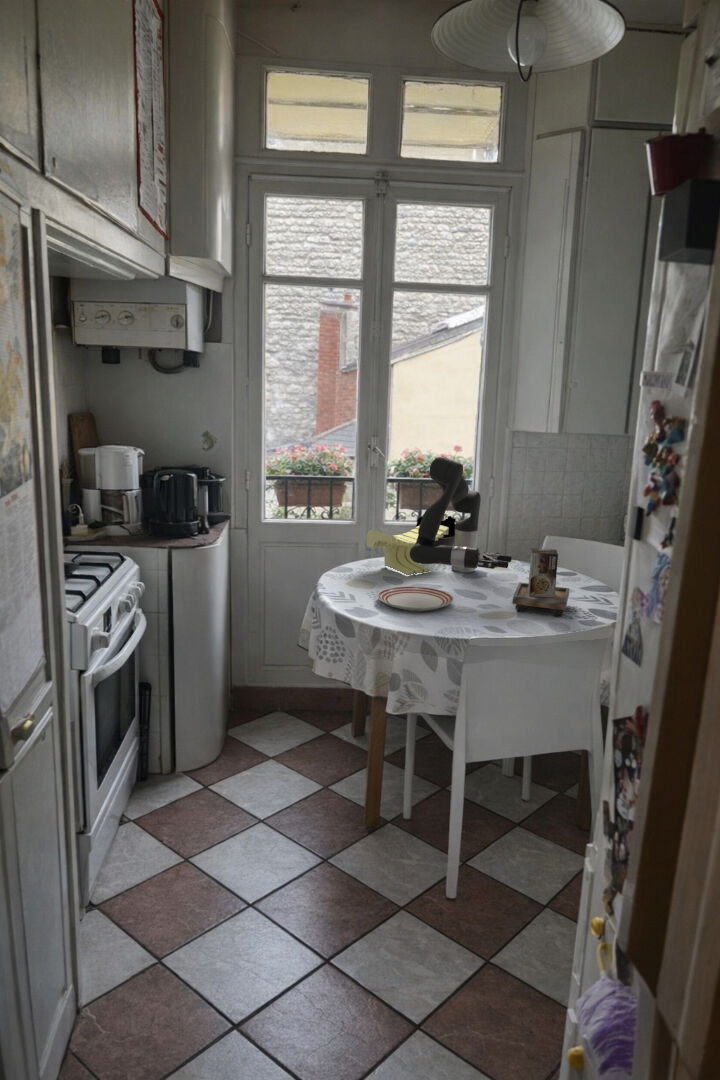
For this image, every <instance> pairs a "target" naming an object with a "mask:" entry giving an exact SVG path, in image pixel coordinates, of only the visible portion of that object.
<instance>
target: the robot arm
mask: <svg viewBox="0 0 720 1080" xmlns="http://www.w3.org/2000/svg"><path fill="white" fill-rule="evenodd" d="M463 475H464V465H463V464H462V463H460V462H459V461H455V460H453V459H450V458H448V457H445V456H437V457H435V458H434V459H433V460H432V462H431V463H430V466H429V477H430V479H431V480H432V481H434V482H435V483H437V484H438V486H439V487H440V489H441V490H442V491H443V494H442V495H441V496H440V497H439V498H438V499H437V500H435V501H434V503H432V504H431V505H430V506H429V507H427V508H426V510H425V511H424V513H423V515H422V516H421V517H422V520H421V523H420V526H419V530H418V533H419V535H418V538H417V541H416V544H415V545H414V546H413V547H412V548H411V550H410V558H411V559H412V560H413V561H414V562H416V563H418V564H420V565H433V564H434V565H435V564H436V565H437V564H440V565H446V566H451V569H452V570H451V569H450V570H451V571H455V570H456V571H455V572H458V571H460V572H459V573H474V572H475V570H476V569H477V568H485V569H490V570H491V569H492V570H493V569H497V568H503V569H508V568H509V563H511V562H512V556H511V555H506V554H501V552H495V551H486V550H485V551H483V553H480V548H478V547H477V545H478V544H477V543H478V529H479V519H480V509H481V500H482V499H481V493H480V492H479V491H476V490H475V491H474V490H469V484H468V482H467V481H466V479H465V478H464V477H463ZM450 503H451V505H452V508H453V510H454V511H455V512H456V513H461V514H470V515H469V517H467V518H464V519H460V520H457V521H455V538H454V546H446V545H440V546H436V547H435V546H434V543H435V538H436V535H437V533H438V530H439V527H440V524H441V521H443V518H444V516H445V513H446V511H447V509H448V507H449V505H450Z"/></svg>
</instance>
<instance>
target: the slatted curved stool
mask: <svg viewBox="0 0 720 1080" xmlns="http://www.w3.org/2000/svg"><path fill="white" fill-rule="evenodd" d="M414 528H415V529H414ZM414 528H412V529H411V530H409V531H408V532H404V533H401V534H396V535H391V534H388V533H384V532H382V531H378V530H375V529H369V530H368V531H367V535H366V547H368V548H372V549H374V548H377V547H382V551H383V557H384V559H383V560H384V567H385V566H388V567H390V568H393V569H395V570H397V571H400V572H402V573H404V574H406V575H411V574H414V573H415V574H417V573H423V572H429V571H431V569H430V567H427V566H425V565H424V564H420V563H416V562H414V561H413V560H412V559H411V558H410V550H411V548H412V547H413V546H414V545H415V544H416V541H417V538H418V535H419V533H418V530H419V526H417V527H416V526H415V527H414ZM448 532H449V528H448V527H445V526H441V525H440V527H439V530H438V533H437V535H436V538H435V541H437V540H438V537H439V538H442V537H443V534H444V535H447V534H448ZM423 574H424V573H423Z"/></svg>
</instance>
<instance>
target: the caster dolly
mask: <svg viewBox="0 0 720 1080" xmlns="http://www.w3.org/2000/svg"><path fill="white" fill-rule="evenodd" d="M528 585H529V582H528V583H526V582H518V585H517V587H516V589H515V591H514V594H513V596H512V604H513V605H515V610H516V611H517V612H519V613H520V612H524V610H525V609H526V606H527V607H529V606H530V607H535V608H536V607H537V608H542V609H543V608H544V609H552V612H553V613H552V614H553V615H554V616H555V617H561V616H563V613H564V611H566V610H567V606H568V605H567V604H568V602H569V601H568V600H569V598H570V597H569V596H570V588H569V587H561V586H556V588H555V597H537V596H529V594H528Z"/></svg>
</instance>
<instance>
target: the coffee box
mask: <svg viewBox="0 0 720 1080" xmlns="http://www.w3.org/2000/svg"><path fill="white" fill-rule="evenodd" d="M558 560H559V553H558V550H557V549H552V548H530V563H529V571H528V572H529V574H528V576H529V577H528V583H529V585H528V594H529V596H537V597H555V588H556V587H557V586H556V585H557V573H558V571H557V570H558Z"/></svg>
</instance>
